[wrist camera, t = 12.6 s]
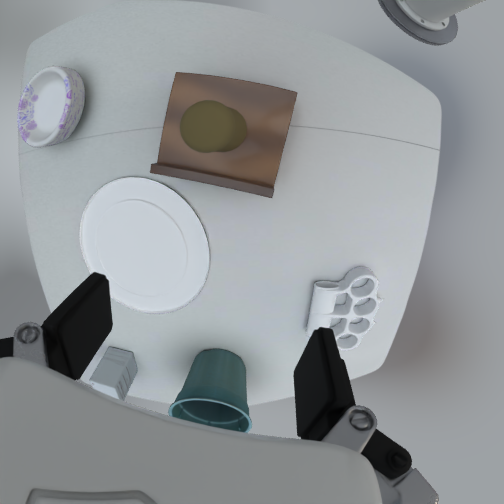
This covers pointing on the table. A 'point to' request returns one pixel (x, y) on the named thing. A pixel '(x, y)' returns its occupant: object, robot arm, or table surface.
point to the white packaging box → (115, 373)
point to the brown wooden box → (247, 153)
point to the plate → (145, 245)
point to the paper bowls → (51, 106)
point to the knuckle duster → (345, 307)
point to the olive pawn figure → (212, 127)
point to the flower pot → (215, 392)
